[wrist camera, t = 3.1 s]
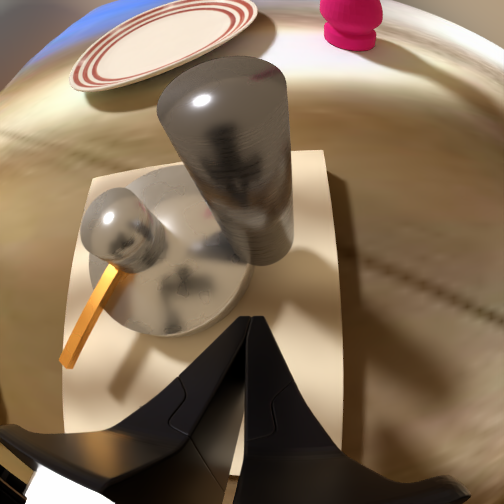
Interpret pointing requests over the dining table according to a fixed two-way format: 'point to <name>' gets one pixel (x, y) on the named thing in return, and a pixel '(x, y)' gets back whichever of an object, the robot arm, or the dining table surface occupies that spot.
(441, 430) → the dining table surface
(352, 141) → the dining table surface
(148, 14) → the dinner plate
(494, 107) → the dining table surface
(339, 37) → the pepper mill
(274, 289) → the stand
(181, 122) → the shiny grey rounded pieces
